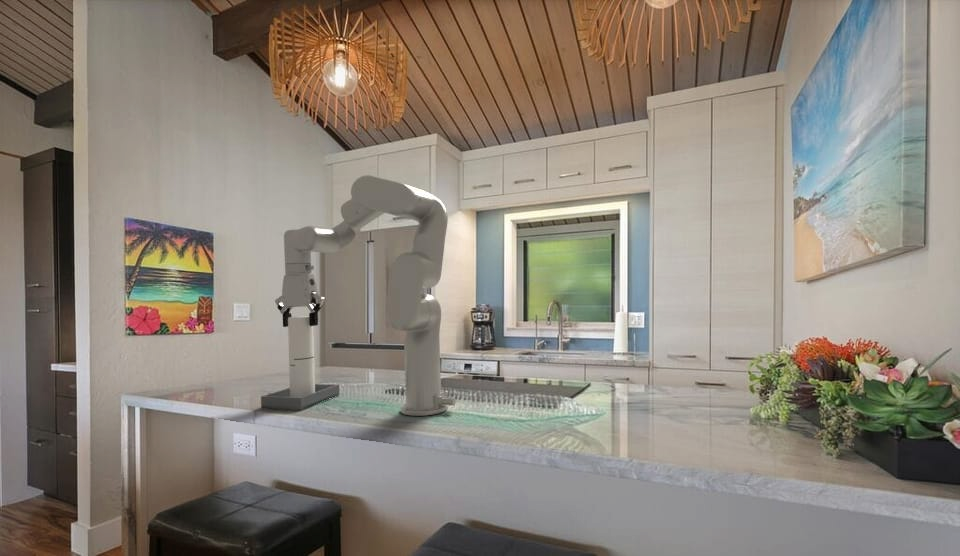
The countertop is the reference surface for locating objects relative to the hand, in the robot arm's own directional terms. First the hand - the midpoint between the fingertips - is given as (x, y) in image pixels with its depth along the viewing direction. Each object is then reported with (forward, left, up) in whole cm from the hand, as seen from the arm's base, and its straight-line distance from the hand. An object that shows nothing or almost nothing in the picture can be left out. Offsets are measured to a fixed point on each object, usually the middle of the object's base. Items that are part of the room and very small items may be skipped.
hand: (300, 326), depth 140 cm
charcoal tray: (0, 0, -23) cm, 23 cm away
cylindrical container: (0, 0, -22) cm, 22 cm away
